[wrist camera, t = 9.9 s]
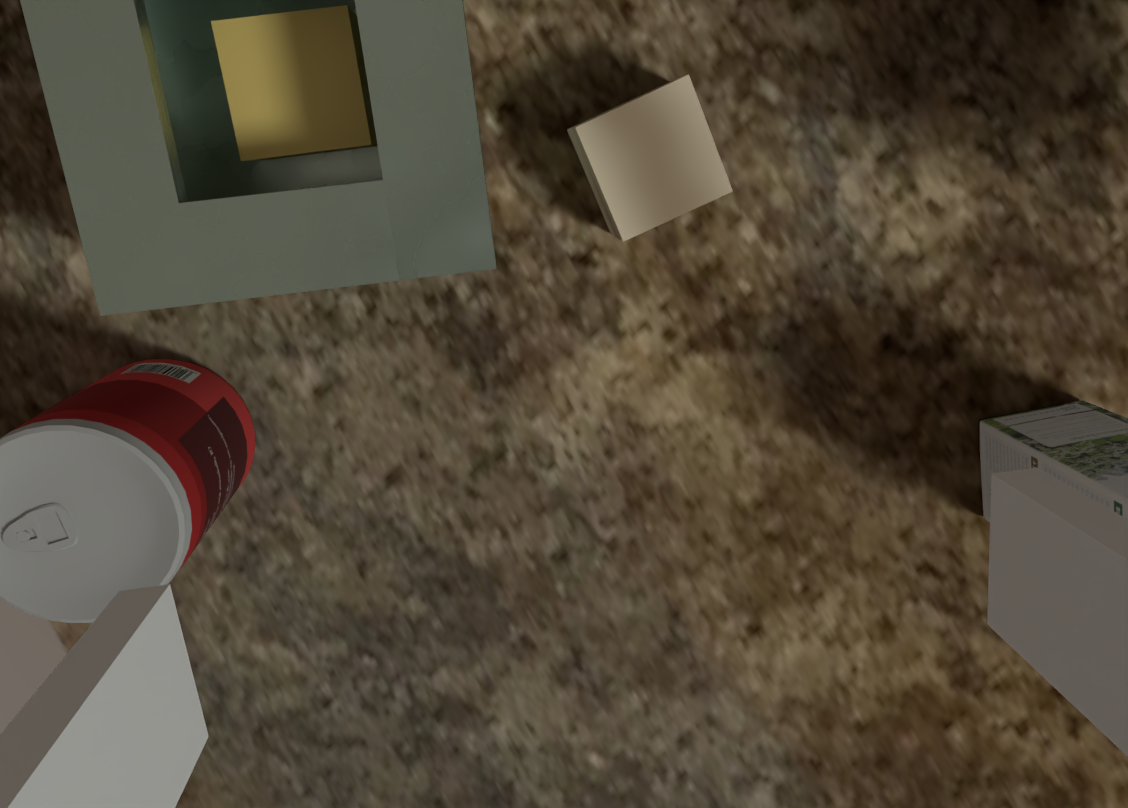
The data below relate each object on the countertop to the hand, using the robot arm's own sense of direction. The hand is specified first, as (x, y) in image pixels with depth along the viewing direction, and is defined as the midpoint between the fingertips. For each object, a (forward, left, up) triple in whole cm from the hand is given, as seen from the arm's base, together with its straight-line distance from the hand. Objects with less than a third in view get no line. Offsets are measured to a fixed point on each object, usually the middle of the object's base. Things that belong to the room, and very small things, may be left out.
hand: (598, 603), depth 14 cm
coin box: (+8, -10, -29) cm, 31 cm away
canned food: (+17, +4, -29) cm, 34 cm away
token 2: (-6, -6, -29) cm, 30 cm away
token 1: (+8, -10, -28) cm, 31 cm away
